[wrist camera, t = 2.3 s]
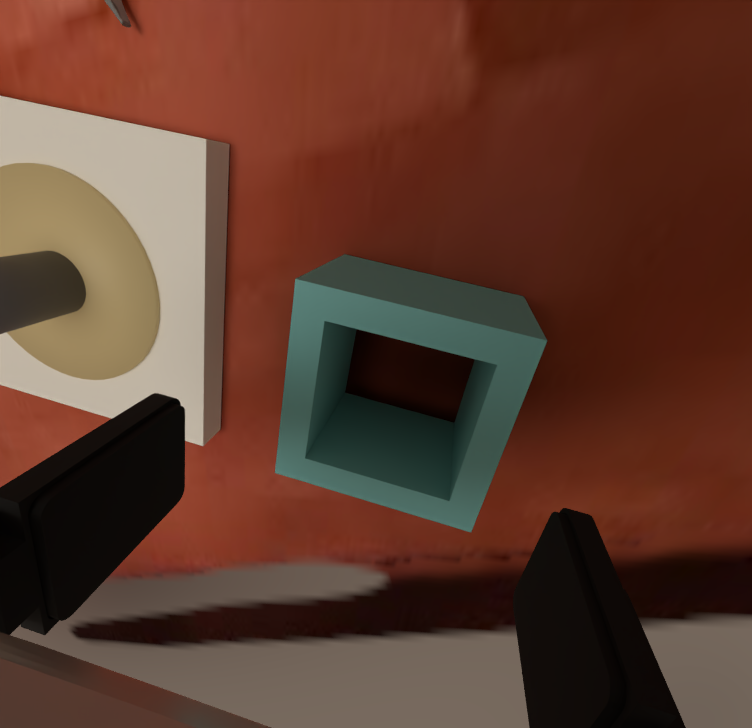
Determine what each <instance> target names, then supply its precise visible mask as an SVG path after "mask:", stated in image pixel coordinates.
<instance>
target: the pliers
mask: <svg viewBox="0 0 752 728" xmlns="http://www.w3.org/2000/svg"><path fill="white" fill-rule="evenodd" d="M105 2H106V3H107V4H108V6H109V7H110V9H111V10H112V11H113V13H114V14H115V15H116V17H117V18H118V20H119V21H120V22H121V24H122V25H123V26H125V27H131V24H130V21H129V19H128V16H127V14H126V11H125V9H124V6H123V4H122V1H121V0H105Z"/></svg>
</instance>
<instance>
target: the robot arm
mask: <svg viewBox="0 0 752 728" xmlns="http://www.w3.org/2000/svg"><path fill="white" fill-rule="evenodd" d="M184 487H185V409H184V407H183V406H181V404H180V401H179V400H178V399H177V398H173V397H169V396H166V395H162V394H159V393H154V394H151V395H150V396H148V397H146V398H145V399H143V400H141V401H140V402H138V403H137V404H135V405H133V406H132V407H130V408H129V409H127V410H125V411H124V412H122V413H120V414H119V415H117V416H116V417H114V418H112V419H111V420H109V421H107V422H106V423H104V424H103V425H101V426H99V427H98V428H96V429H94V430H93V431H91V432H90V433H88V434H86V435H85V436H83V437H81V438H80V439H78V440H77V441H75V442H73V443H72V444H70V445H69V446H67V447H65V448H64V449H62V450H60V451H59V452H57V453H56V454H54V455H52V456H51V457H49V458H47V459H46V460H44V461H43V462H41V463H39V464H38V465H36V466H34V467H33V468H31V469H30V470H28V471H26V472H25V473H23V474H22V475H20V476H18V477H17V478H15V479H13V480H12V481H10V482H9V483H7V484H5V485H4V486H2V487H0V728H271V727H268V726H265V725H262V724H260V723H257V722H254V721H251V720H248V719H246V718H243V717H240V716H237V715H234V714H231V713H229V712H226V711H223V710H220V709H218V708H215V707H212V706H209V705H207V704H204V703H201V702H198V701H196V700H193V699H190V698H187V697H184V696H182V695H179V694H176V693H173V692H170V691H167V690H165V689H162V688H159V687H157V686H154V685H151V684H148V683H145V682H142V681H140V680H137V679H134V678H131V677H128V676H125V675H123V674H120V673H117V672H114V671H111V670H108V669H106V668H103V667H100V666H97V665H94V664H92V663H89V662H86V661H83V660H80V659H77V658H75V657H72V656H69V655H66V654H63V653H60V652H57V651H55V650H52V649H49V648H46V647H44V646H40V645H38V644H35V643H32V642H28V641H25V640H22V639H19V638H16V637H13V636H10V634H11V633H12V632H13V631H14V630H15V629H16V628H17V627H18V626H19V625H20V624H21V627H23V628H26V629H29V630H31V631H34V632H37V633H40V634H43V635H46V634H47V633H48V631H49V630H50V629H51V628H52V627H53V626H54V625H55V624H56V623H57V622H58V621H59V620H61V621H62V620H66V619H67V618H69V617H70V616H71V615H72V614H73V613H74V612H75V611H76V610H77V609H78V608H79V607H80V606H81V605H82V604H83V603H84V602H85V601H86V600H87V599H88V597H89V596H90V595H91V594H92V593H93V592H94V591H95V590H96V589H97V588H98V587H99V586H100V585H101V584H102V583H103V582H104V580H105V579H106V578H107V577H108V576H109V575H110V574H111V573H112V572H113V571H114V570H115V569H116V568H117V567H118V566H119V565H120V564H121V562H122V561H123V560H124V559H125V558H126V557H127V556H128V555H129V554H130V553H131V552H132V551H133V550H134V549H135V548H136V547H137V546H138V544H139V543H140V542H141V541H142V540H143V539H144V538H145V537H146V536H147V535H148V534H149V533H150V532H151V531H152V530H153V529H154V527H155V526H156V525H157V524H158V523H159V522H160V521H161V520H162V519H163V518H164V517H165V516H166V515H167V514H168V513H169V512H170V511H171V509H172V508H173V507H174V506H175V505H176V504H177V503H178V502H179V501H180V499H181V497H182V495H183V492H184ZM513 608H514V616H515V623H516V630H517V638H518V645H519V653H520V660H521V667H522V675H523V682H524V690H525V697H526V704H527V712H528V719H529V726H530V728H686V727H685V725H684V723H683V721H682V718H681V716H680V713H679V711H678V709H677V707H676V704H675V702H674V700H673V698H672V695H671V693H670V690H669V688H668V686H667V683H666V681H665V679H664V677H663V674H662V672H661V670H660V668H659V665H658V663H657V660H656V658H655V656H654V653H653V651H652V649H651V646H650V644H649V642H648V640H647V637H646V635H645V633H644V630H643V628H642V626H641V623H640V621H639V619H638V616H637V614H636V612H635V610H634V607H633V605H632V603H631V600H630V598H629V596H628V594H627V593H626V591H625V590H624V589H623V587H622V585H621V583H620V580H619V578H618V576H617V573H616V571H615V569H614V566H613V564H612V562H611V559H610V557H609V555H608V552H607V550H606V548H605V545H604V543H603V541H602V538H601V536H600V534H599V531H598V529H597V526H596V524H595V522H594V520H593V518H592V516H590V515H588V514H585V513H581V512H578V511H574V510H571V509H567V508H563V509H562V510H561V511H560V512H559V513H558V512H553V513H552V514H551V516H550V518H549V520H548V522H547V524H546V526H545V528H544V530H543V533H542V535H541V537H540V539H539V541H538V543H537V545H536V547H535V549H534V551H533V553H532V555H531V558H530V560H529V562H528V564H527V566H526V568H525V570H524V572H523V574H522V576H521V578H520V580H519V583H518V585H517V587H516V589H515V592H514V597H513Z"/></svg>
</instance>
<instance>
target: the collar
mask: <svg viewBox="0 0 752 728" xmlns="http://www.w3.org/2000/svg"><path fill="white" fill-rule="evenodd" d="M357 329H359V330H362V331H366V332H370V333H374V334H378V335H382V336H386V337H390V338H394V339H398V340H402V341H405V342H409V343H413V344H417V345H421V346H425V347H429V348H433V349H437V350H441V351H445V352H448V353H452V354H456V355H460V356H464V357H468V358H472V359H475V360H474V363H473V366H472V369H471V372H470V375H469V378H468V382H467V385H466V388H465V391H464V394H463V397H462V400H461V403H460V406H459V409H458V413H457V416H456V419H455V422H450V421H446V420H443V419H439V418H435V417H432V416H428V415H424V414H421V413H417V412H414V411H410V410H406V409H403V408H399V407H395V406H392V405H388V404H384V403H381V402H377V401H374V400H370V399H366V398H363V397H359V396H355V395H352V394H348V393H345V391H346V386H347V380H348V374H349V369H350V363H351V358H352V352H353V347H354V341H355V336H356V330H357ZM546 343H547V339H546V337H545V336H544V334H543V332H542V330H541V328H540V326H539V324H538V322H537V320H536V319H535V317H534V315H533V313H532V311H531V309H530V307H529V305H528V304H527V302H526V300H525V298H524V296H520V295H516V294H511V293H507V292H503V291H499V290H494V289H490V288H486V287H482V286H477V285H473V284H469V283H465V282H460V281H456V280H452V279H448V278H443V277H439V276H435V275H431V274H426V273H422V272H418V271H414V270H409V269H405V268H401V267H397V266H392V265H388V264H384V263H380V262H375V261H371V260H367V259H363V258H358V257H354V256H350V255H346V254H344V255H342V256H340V257H338V258H336V259H334V260H332V261H330V262H328V263H326V264H324V265H322V266H320V267H318V268H316V269H314V270H312V271H310V272H308V273H306V274H304V275H302V276H300V277H298V278H296V279H295V289H294V298H293V308H292V317H291V327H290V336H289V345H288V355H287V364H286V374H285V383H284V393H283V402H282V411H281V421H280V430H279V440H278V449H277V459H276V468H275V473H277V474H281V475H284V476H287V477H290V478H294V479H297V480H300V481H304V482H307V483H310V484H313V485H317V486H320V487H323V488H327V489H330V490H333V491H336V492H340V493H343V494H346V495H350V496H353V497H356V498H359V499H363V500H366V501H369V502H373V503H376V504H379V505H382V506H386V507H389V508H392V509H396V510H399V511H402V512H405V513H409V514H412V515H415V516H419V517H422V518H425V519H428V520H432V521H435V522H438V523H442V524H445V525H448V526H452V527H455V528H458V529H461V530H465V531H468V532H471V531H472V529H473V526H474V524H475V521H476V519H477V516H478V514H479V511H480V508H481V506H482V503H483V501H484V498H485V496H486V493H487V491H488V488H489V486H490V483H491V481H492V478H493V476H494V473H495V471H496V468H497V466H498V463H499V461H500V458H501V456H502V453H503V451H504V448H505V446H506V443H507V441H508V438H509V436H510V433H511V431H512V428H513V426H514V423H515V421H516V418H517V416H518V413H519V410H520V408H521V405H522V403H523V400H524V398H525V395H526V393H527V390H528V388H529V385H530V383H531V380H532V378H533V375H534V373H535V370H536V368H537V365H538V363H539V360H540V358H541V355H542V353H543V350H544V348H545V345H546Z"/></svg>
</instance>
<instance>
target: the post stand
mask: <svg viewBox="0 0 752 728" xmlns="http://www.w3.org/2000/svg"><path fill="white" fill-rule="evenodd" d="M229 146H230V144H227V143H223V142H218V141H213V140H208V139H204V138H199V137H194V136H189V135H185V134H180V133H175V132H170V131H166V130H161V129H156V128H151V127H147V126H142V125H137V124H132V123H128V122H123V121H118V120H113V119H109V118H104V117H99V116H94V115H90V114H85V113H80V112H75V111H71V110H66V109H61V108H56V107H52V106H47V105H42V104H37V103H33V102H28V101H23V100H18V99H14V98H9V97H4V96H0V385H3V386H6V387H9V388H13V389H16V390H19V391H23V392H26V393H29V394H33V395H36V396H39V397H42V398H46V399H49V400H52V401H56V402H59V403H62V404H66V405H69V406H72V407H76V408H79V409H82V410H85V411H89V412H92V413H95V414H99V415H102V416H105V417H109V418H114V417H116V416H117V415H119V414H120V413H122V412H124V411H125V410H127V409H129V408H130V407H132V406H133V405H135V404H137V403H138V402H140V401H141V400H143V399H145V398H146V397H148V396H150V395H151V394H154V393H159V394H162V395H166V396H169V397H173V398H177V399H178V400H179V401H180V404H181V406H183V407H184V409H185V441H188V442H191V443H194V444H198V445H201V446H204V445H205V444H206V443H207V442H208V441H209V440H210V439H211V438H212V437H213V436H214V435H215V434H216V433H217V432H218V431H219V430H220V429H221V399H222V367H223V336H224V304H225V272H226V241H227V209H228V178H229Z"/></svg>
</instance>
